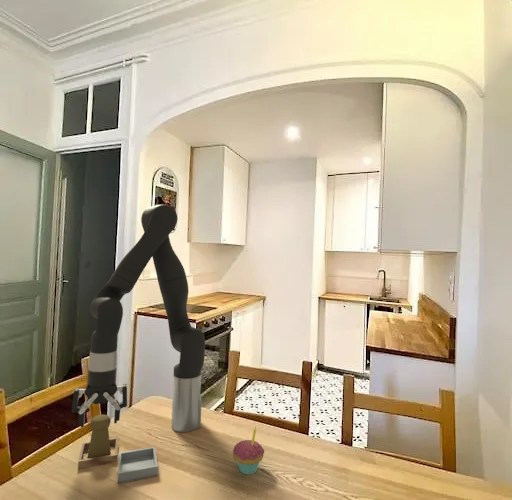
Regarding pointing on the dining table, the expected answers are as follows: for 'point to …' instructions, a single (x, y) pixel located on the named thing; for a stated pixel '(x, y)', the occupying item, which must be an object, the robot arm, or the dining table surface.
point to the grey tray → (137, 465)
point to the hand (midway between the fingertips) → (99, 424)
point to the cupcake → (248, 455)
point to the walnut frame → (97, 460)
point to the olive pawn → (99, 437)
